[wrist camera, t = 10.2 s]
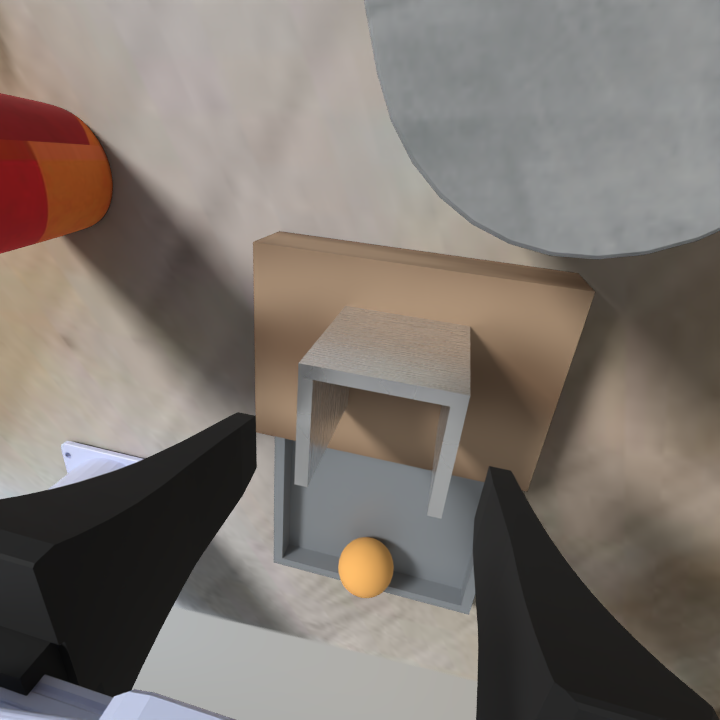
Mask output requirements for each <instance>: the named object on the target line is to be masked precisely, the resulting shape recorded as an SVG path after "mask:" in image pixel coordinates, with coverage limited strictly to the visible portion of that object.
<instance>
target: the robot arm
mask: <svg viewBox="0 0 720 720" xmlns="http://www.w3.org/2000/svg"><path fill="white" fill-rule="evenodd" d="M61 449H62V453H63V457H64V461H65V465H66V469H67V473H68V474H67V475H66V476H64V477H63V478H62V479H61V480H59V481H58V482H57V483H56V484H54V485H53V486H52V487H50V488H49V489H48V490H45V491H41V492H37V493H32V494H27V495H22V496H17V497H11V498H5V499H0V720H235V719H232V718H229V717H226V716H223V715H220V714H217V713H214V712H211V711H208V710H205V709H202V708H199V707H196V706H193V705H190V704H187V703H184V702H181V701H178V700H175V699H172V698H169V697H166V696H163V695H160V694H157V693H153V692H147V691H142V690H135V689H134V690H132V687H133V685H134V683H135V681H136V679H137V677H138V674H139V672H140V670H141V668H142V666H143V664H144V662H145V660H146V658H147V656H148V654H149V652H150V650H151V648H152V646H153V644H154V642H155V639H156V637H157V635H158V633H159V631H160V629H161V628H162V626H163V624H164V622H165V620H166V618H167V616H168V614H169V612H170V610H171V608H172V607H173V605H174V603H175V601H176V599H177V597H178V595H179V593H180V592H181V590H182V588H183V586H184V584H185V582H186V581H187V579H188V577H189V575H190V573H191V572H192V570H193V568H194V566H195V565H196V563H197V562H198V560H199V558H200V557H201V555H202V554H203V552H204V551H205V549H206V548H207V546H208V545H209V544H210V542H211V541H212V539H213V538H214V536H215V535H216V533H217V532H218V531H219V529H220V528H221V526H222V525H223V523H224V522H225V520H226V519H227V518H228V516H229V515H230V513H231V512H232V510H233V509H234V507H235V506H236V504H237V503H238V501H239V500H240V498H241V497H242V495H243V494H244V492H245V490H246V488H247V486H248V484H249V482H250V480H251V478H252V476H253V474H254V472H255V470H256V468H257V463H256V416H253V415H248V414H243V413H236V414H234V415H231V416H229V417H228V418H226V419H224V420H222V421H220V422H218V423H216V424H214V425H213V426H211V427H209V428H207V429H205V430H203V431H201V432H199V433H197V434H196V435H194V436H192V437H190V438H188V439H186V440H184V441H182V442H180V443H178V444H176V445H174V446H172V447H170V448H167V449H165V450H163V451H161V452H159V453H157V454H155V455H153V456H150V457H148V458H146V459H142V458H138V457H134V456H130V455H125V454H121V453H117V452H113V451H109V450H105V449H100V448H96V447H92V446H88V445H84V444H80V443H75V442H71V441H66V442H64V443H63V444H62V445H61ZM473 565H474V580H475V594H476V608H477V622H478V687H477V715H476V720H719V719H718V717H717V715H716V713H715V711H714V709H713V707H712V706H711V705H710V704H708V703H707V702H706V701H705V700H704V699H703V698H701V697H700V696H699V695H698V694H697V693H695V692H694V691H693V690H692V689H691V688H690V687H688V686H687V685H686V684H685V683H684V682H682V681H681V680H680V679H679V678H678V677H676V676H675V675H674V674H673V673H672V672H671V671H669V670H668V669H667V668H666V667H665V666H664V665H663V664H661V663H660V662H659V661H658V660H657V659H656V658H655V657H654V656H653V655H652V654H651V653H650V652H649V651H648V650H646V649H645V648H644V647H643V646H642V645H641V644H640V643H639V642H638V641H637V640H636V639H635V638H634V637H633V636H632V635H631V634H630V633H629V632H628V631H627V630H626V629H625V628H624V627H623V626H622V625H621V624H620V623H619V622H618V621H617V620H616V619H615V618H614V617H613V616H612V615H611V614H610V612H609V611H608V610H607V609H606V608H605V607H604V606H603V605H602V604H601V603H600V602H599V601H598V600H597V598H596V597H595V596H594V595H593V594H592V593H591V592H590V590H589V589H588V588H587V587H586V586H585V584H584V583H583V582H582V581H581V579H580V578H579V577H578V576H577V574H576V573H575V572H574V571H573V570H572V568H571V567H570V566H569V564H568V563H567V562H566V560H565V559H564V557H563V556H562V555H561V553H560V552H559V550H558V549H557V547H556V546H555V544H554V543H553V542H552V540H551V539H550V537H549V535H548V534H547V532H546V531H545V529H544V528H543V526H542V524H541V523H540V521H539V519H538V518H537V516H536V515H535V513H534V511H533V509H532V508H531V506H530V504H529V502H528V501H527V499H526V497H525V495H524V493H523V492H522V490H521V488H520V486H519V484H518V482H517V480H516V478H515V476H514V474H513V473H512V472H511V470H506V469H501V468H496V467H492V466H489V468H488V471H487V475H486V479H485V482H484V486H483V489H482V493H481V496H480V500H479V504H478V507H477V511H476V514H475V518H474V533H473Z"/></svg>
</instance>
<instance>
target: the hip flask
mask: <svg viewBox="0 0 720 720" xmlns="http://www.w3.org/2000/svg"><path fill="white" fill-rule="evenodd" d="M364 4H365V9H366V15H367V20H368V26H369V32H370V37H371V43H372V48H373V54H374V59H375V65H376V70H377V75H378V78H379V81H380V85H381V88H382V92H383V95H384V98H385V102H386V105H387V109H388V112H389V116H390V119H391V122H392V124H393V126H394V128H395V130H396V132H397V134H398V136H399V138H400V140H401V142H402V144H403V145H404V147H405V149H406V151H407V153H408V155H409V157H410V159H411V161H412V163H413V164H414V166H415V167H416V168H417V169H418V171H419V172H420V173H421V174H422V176H423V177H424V178H425V179H426V181H427V182H428V183H429V185H430V186H431V187H432V188H433V190H434V191H435V192H436V193H437V195H438V196H439V197H440V198H441V199H442V200H444V201H445V202H446V203H447V204H448V205H450V206H451V207H452V208H453V209H454V210H455V211H457V212H458V213H459V214H460V215H461V216H463V217H464V218H465V219H466V220H467V221H469V222H470V223H471V224H473V225H475V226H476V227H478V228H480V229H482V230H484V231H486V232H488V233H490V234H492V235H494V236H495V237H497V238H499V239H501V240H503V241H505V242H507V243H509V244H512V245H515V246H519V247H522V248H526V249H529V250H533V251H536V252H540V253H543V254H547V255H550V256H562V257H574V258H586V259H605V258H615V257H626V256H636V255H646V254H649V253H653V252H657V251H661V250H664V249H668V248H672V247H675V246H679V245H683V244H687V243H690V242H694V241H698V240H700V239H702V238H704V237H707V236H709V235H711V234H713V233H716V232H718V231H720V0H364Z"/></svg>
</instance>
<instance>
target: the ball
mask: <svg viewBox="0 0 720 720" xmlns="http://www.w3.org/2000/svg"><path fill="white" fill-rule="evenodd" d="M393 569H394V565H393V559H392V556H391V554H390V552H389V550H388V548H387V547H386V546H385V545H384V544H383V543H382V542H380V541H379V540H377V539H374V538H371V537H361V538H357V539H355V540H353V541H351V542H350V543H349V544H348V545H347V546H346V547H345V548H344V550H343V551H342V553H341V556H340V559H339V565H338V570H339V576H340V579H341V581H342V583H343V585H344V587H345V588H346V589H347V590H348V591H349V592H350V593H352V594H353V595H355V596H358V597H361V598H371V597H375V596H377V595H379V594H381V593H382V592H383V591H384V590H385V589H386V588H387V587H388V585H389V584H390V582H391V579H392V576H393Z"/></svg>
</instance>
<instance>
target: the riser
mask: <svg viewBox="0 0 720 720" xmlns="http://www.w3.org/2000/svg"><path fill="white" fill-rule="evenodd" d="M253 271H254V340H255V409H256V432H257V433H262V434H267V435H271V436H276V437H280V438H285V439H289V440H294V441H296V422H297V393H298V364H299V362H300V361H301V360H302V358H303V357H304V356H305V355H306V353H307V352H308V351H309V350H310V349H311V347H312V346H313V345H314V344H315V343H316V341H317V340H318V339H319V338H320V336H321V335H322V334H323V333H324V332H325V330H326V329H327V328H328V327H329V325H330V324H331V323H332V322H333V321H334V319H335V318H336V317H337V316H338V315H339V313H340V312H341V311H342V310H343V308H344V307H345V306H350V307H356V308H362V309H368V310H374V311H380V312H386V313H392V314H398V315H404V316H411V317H417V318H423V319H429V320H435V321H441V322H447V323H453V324H459V325H465V326H470V399H469V403H468V408H467V412H466V416H465V420H464V425H463V429H462V433H461V437H460V442H459V446H458V450H457V454H456V459H455V463H454V467H453V471H452V475H453V476H458V477H463V478H467V479H472V480H476V481H481V482H485V479H486V475H487V471H488V468H489V466H492V467H496V468H501V469H506V470H511V472H512V473H513V474H514V476H515V478H516V480H517V482H518V484H519V486H520V488H521V490H522V491H526V492H527V491H528V488H529V485H530V482H531V479H532V476H533V473H534V470H535V467H536V465H537V462H538V459H539V456H540V453H541V450H542V447H543V444H544V441H545V438H546V435H547V432H548V429H549V426H550V423H551V420H552V418H553V415H554V412H555V409H556V406H557V403H558V400H559V397H560V394H561V391H562V388H563V385H564V382H565V379H566V376H567V374H568V371H569V368H570V365H571V362H572V359H573V356H574V353H575V350H576V347H577V344H578V341H579V338H580V335H581V332H582V330H583V327H584V324H585V321H586V318H587V315H588V312H589V309H590V306H591V303H592V300H593V297H594V294H595V291H594V290H593V289H592V288H591V287H590V286H589V285H588V283H587V282H586V281H585V280H584V279H583V278H582V277H581V276H580V275H579V274H578V273H573V272H566V271H558V270H551V269H544V268H537V267H530V266H523V265H516V264H509V263H501V262H494V261H487V260H480V259H473V258H466V257H459V256H452V255H444V254H437V253H430V252H423V251H416V250H409V249H402V248H395V247H387V246H380V245H373V244H366V243H359V242H352V241H345V240H338V239H330V238H323V237H316V236H309V235H302V234H295V233H288V232H280V231H279V232H277V233H274V234H272V235H269V236H267V237H264V238H262V239H259V240H257V241H255V242H253ZM441 406H442V405H440V404H434V403H429V402H424V401H419V400H414V399H409V398H404V397H399V396H393V395H388V394H383V393H378V392H373V391H368V390H363V389H357V388H352V387H349V395H348V405H347V407H346V409H345V411H344V413H343V415H342V417H341V419H340V421H339V423H338V425H337V427H336V430H335V432H334V434H333V436H332V438H331V440H330V442H329V444H328V446H327V448H330V449H335V450H340V451H344V452H349V453H353V454H358V455H362V456H367V457H371V458H376V459H381V460H385V461H390V462H394V463H399V464H403V465H408V466H412V467H417V468H422V469H426V470H431V471H432V469H433V460H434V452H435V444H436V435H437V427H438V420H439V416H440V411H441Z"/></svg>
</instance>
